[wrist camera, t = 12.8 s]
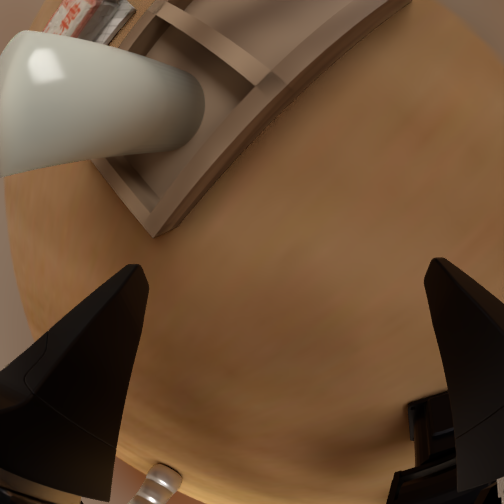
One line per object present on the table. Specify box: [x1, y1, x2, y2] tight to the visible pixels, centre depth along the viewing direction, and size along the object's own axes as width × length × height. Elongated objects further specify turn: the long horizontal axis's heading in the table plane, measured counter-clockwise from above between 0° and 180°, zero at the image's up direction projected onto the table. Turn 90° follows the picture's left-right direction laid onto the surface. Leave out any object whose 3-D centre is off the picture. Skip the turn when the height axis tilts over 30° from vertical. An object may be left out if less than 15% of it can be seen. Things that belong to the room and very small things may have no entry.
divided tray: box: [91, 0, 412, 238], centre depth 14 cm, size 12×24×3 cm, turn 136°
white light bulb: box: [0, 30, 205, 177], centre depth 11 cm, size 6×6×12 cm
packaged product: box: [42, 0, 137, 45], centre depth 17 cm, size 18×5×10 cm
